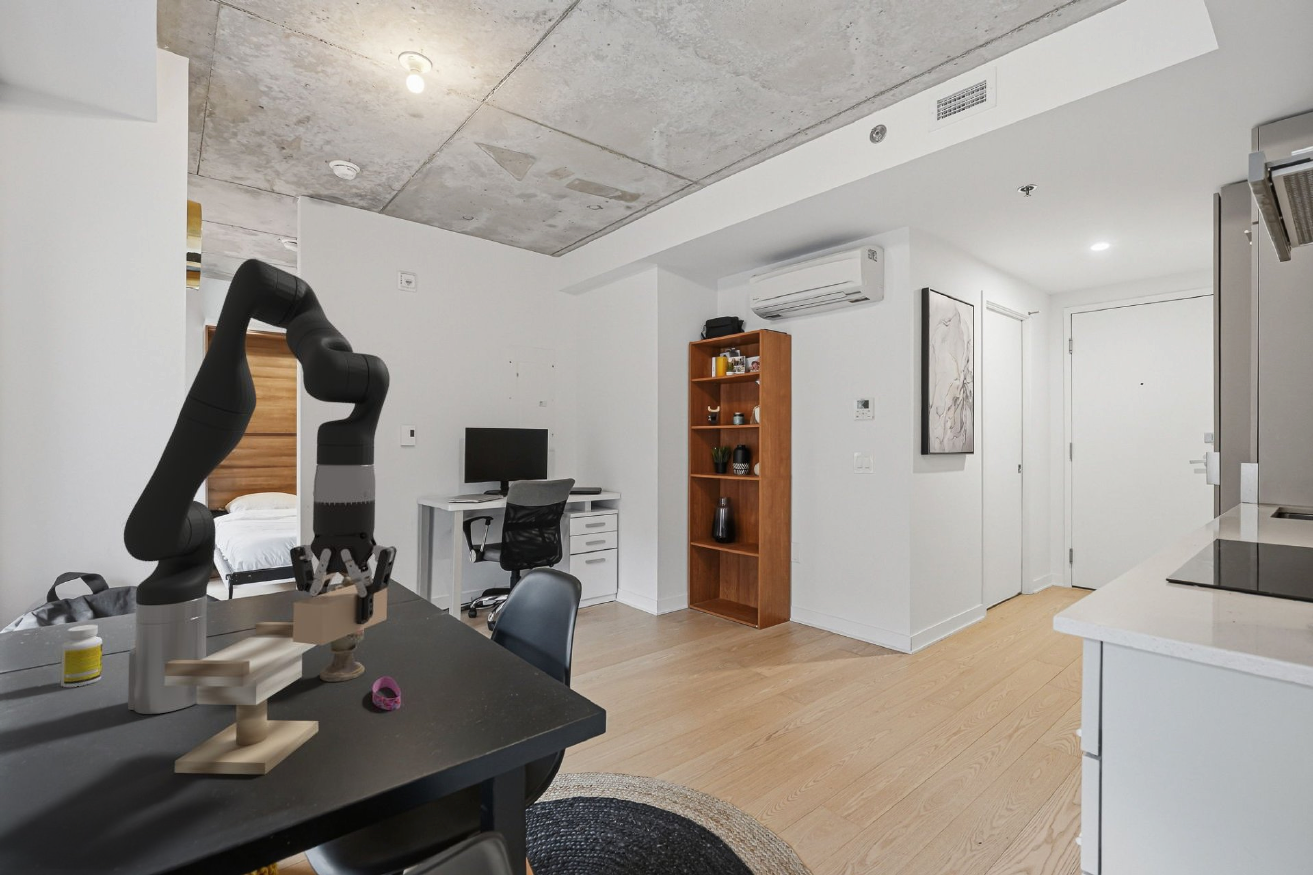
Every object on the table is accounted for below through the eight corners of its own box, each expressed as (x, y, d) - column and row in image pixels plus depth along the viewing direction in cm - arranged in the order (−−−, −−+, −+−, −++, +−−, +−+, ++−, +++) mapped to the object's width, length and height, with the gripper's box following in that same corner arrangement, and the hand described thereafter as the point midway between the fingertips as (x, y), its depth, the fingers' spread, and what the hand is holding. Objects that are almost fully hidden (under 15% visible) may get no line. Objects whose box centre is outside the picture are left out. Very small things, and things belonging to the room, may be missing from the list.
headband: (367, 692, 107) (367, 679, 107) (391, 687, 109) (391, 675, 109) (378, 714, 98) (378, 700, 98) (404, 709, 100) (404, 695, 100)
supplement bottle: (108, 679, 111) (109, 625, 111) (69, 690, 106) (70, 633, 106) (92, 674, 114) (93, 621, 114) (54, 685, 109) (55, 629, 109)
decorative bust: (401, 668, 114) (380, 535, 114) (324, 692, 107) (302, 550, 107) (390, 656, 123) (371, 533, 124) (318, 678, 116) (299, 547, 117)
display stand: (155, 785, 77) (157, 662, 77) (253, 720, 95) (254, 621, 95) (249, 787, 77) (250, 664, 77) (329, 722, 95) (330, 622, 95)
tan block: (292, 641, 78) (293, 602, 78) (360, 616, 90) (360, 582, 90) (322, 645, 77) (323, 605, 77) (386, 619, 89) (387, 584, 89)
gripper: (408, 496, 87) (406, 616, 87) (309, 494, 88) (307, 613, 87) (383, 501, 80) (381, 632, 80) (275, 499, 80) (272, 629, 80)
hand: (342, 621), depth 84 cm, fingers closed on tan block, 5 cm apart
